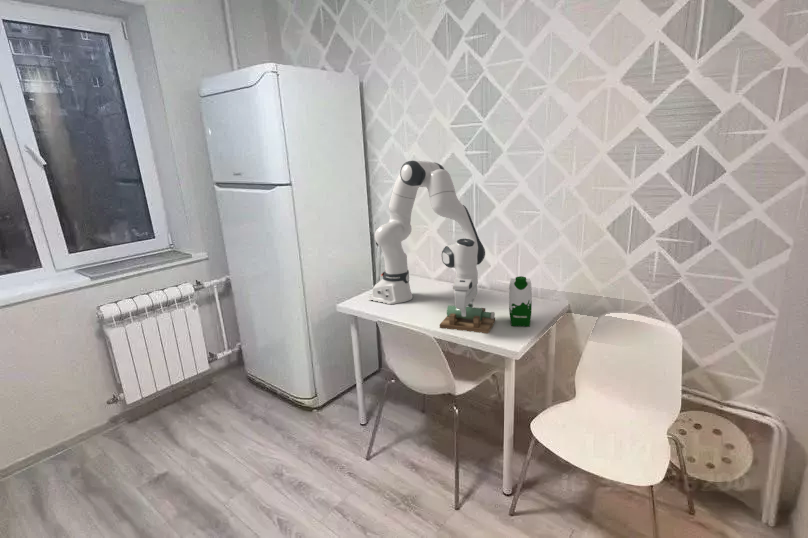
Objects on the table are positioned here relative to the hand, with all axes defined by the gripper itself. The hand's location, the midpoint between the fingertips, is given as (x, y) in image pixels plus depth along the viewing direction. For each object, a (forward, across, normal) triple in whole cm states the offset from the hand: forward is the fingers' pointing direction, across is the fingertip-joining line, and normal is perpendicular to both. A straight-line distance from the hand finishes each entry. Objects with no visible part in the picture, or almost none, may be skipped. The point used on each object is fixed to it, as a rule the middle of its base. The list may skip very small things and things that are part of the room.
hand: (467, 311), depth 171 cm
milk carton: (+6, -7, +20) cm, 22 cm away
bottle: (+2, +2, +1) cm, 3 cm away
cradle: (+6, 0, 0) cm, 6 cm away
